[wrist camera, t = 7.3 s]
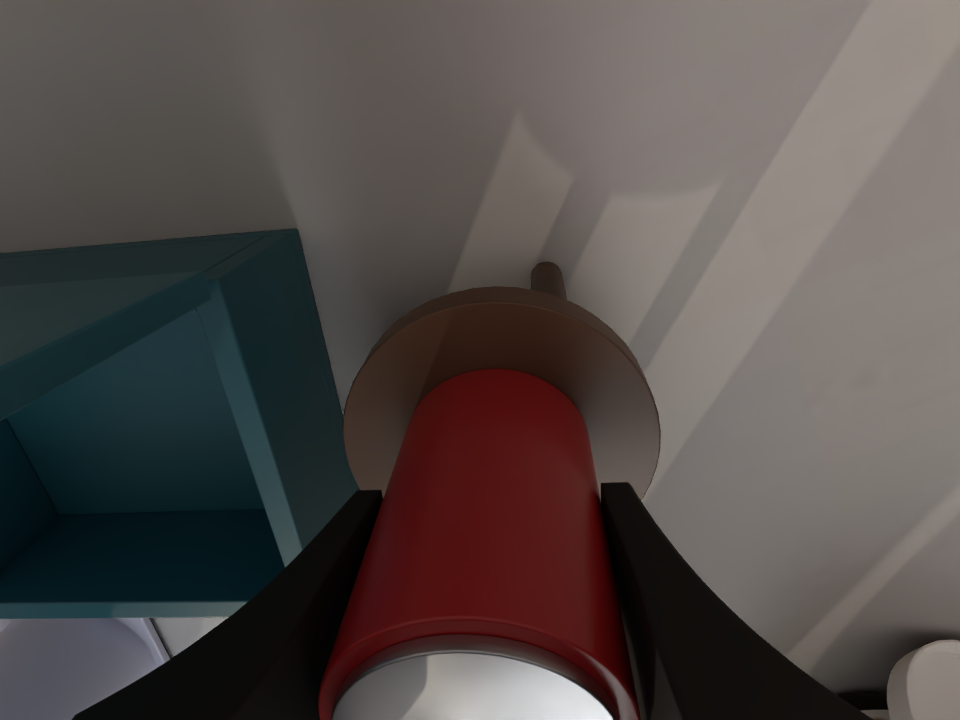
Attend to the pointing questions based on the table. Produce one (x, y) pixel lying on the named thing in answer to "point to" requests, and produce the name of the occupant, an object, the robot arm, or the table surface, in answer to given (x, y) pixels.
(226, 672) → the robot arm
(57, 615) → the cool box
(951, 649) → the spread jar
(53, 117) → the table surface
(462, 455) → the drink can
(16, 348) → the cool box lid
